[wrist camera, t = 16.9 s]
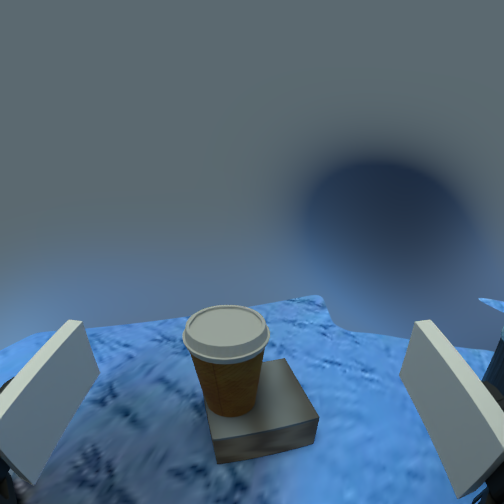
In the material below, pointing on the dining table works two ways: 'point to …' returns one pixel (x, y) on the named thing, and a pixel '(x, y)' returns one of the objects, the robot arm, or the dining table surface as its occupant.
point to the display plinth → (266, 419)
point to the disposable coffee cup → (227, 355)
